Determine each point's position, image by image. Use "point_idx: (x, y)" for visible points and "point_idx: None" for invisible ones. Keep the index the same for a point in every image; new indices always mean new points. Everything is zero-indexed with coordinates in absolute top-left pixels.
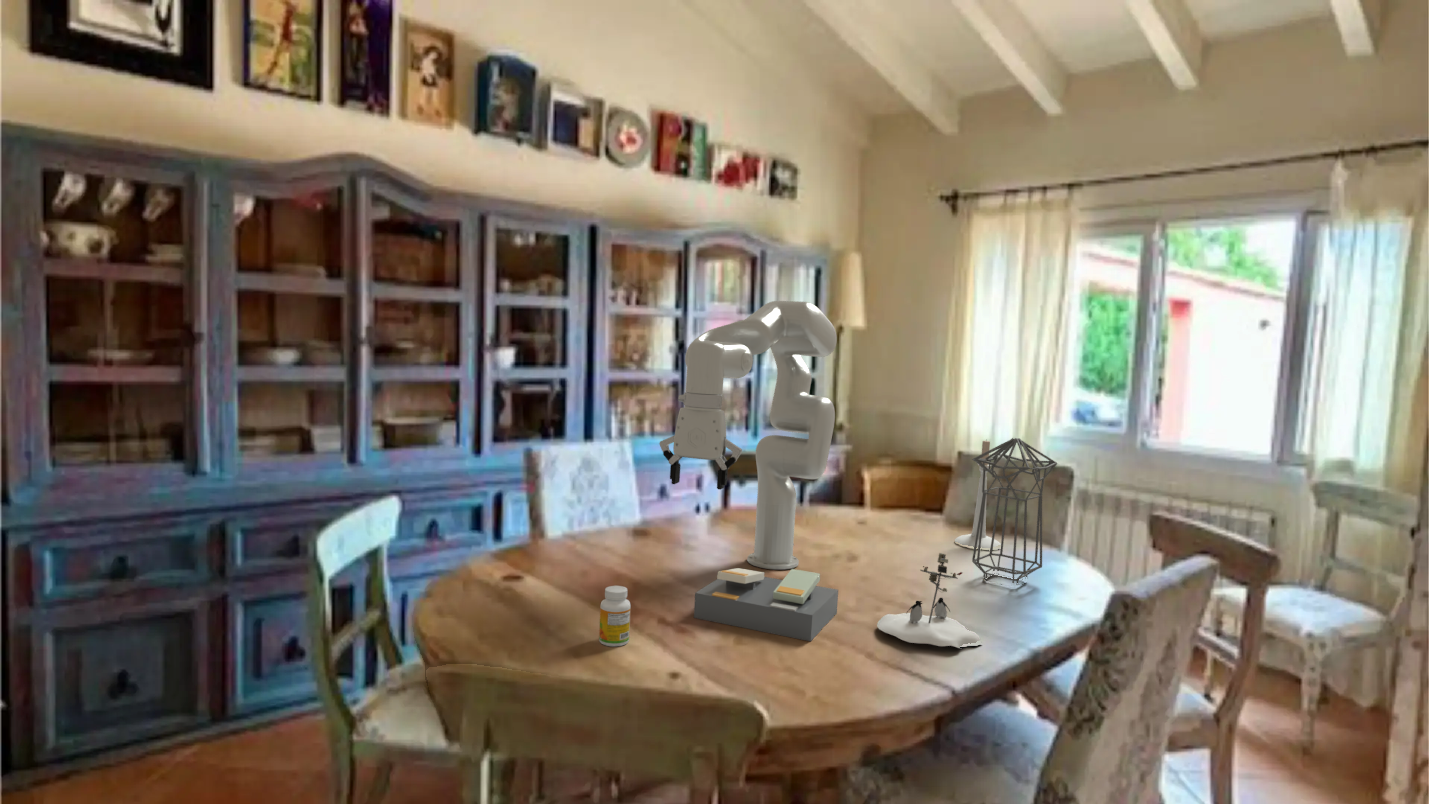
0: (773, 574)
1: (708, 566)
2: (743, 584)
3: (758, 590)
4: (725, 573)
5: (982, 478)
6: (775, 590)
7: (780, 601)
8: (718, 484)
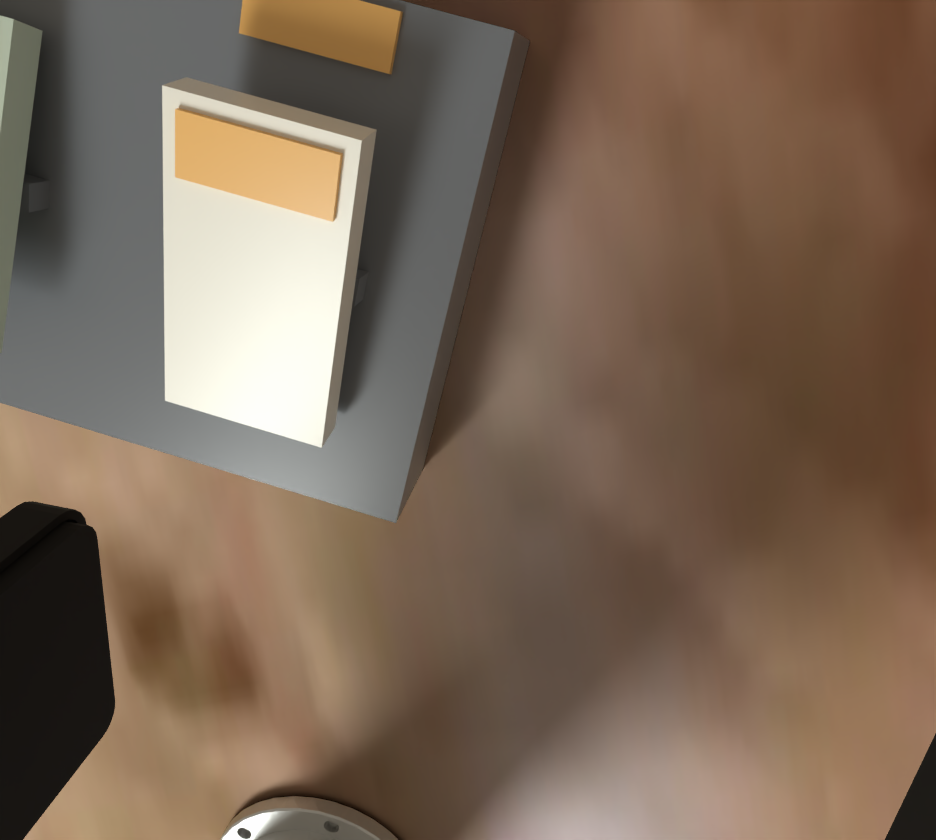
0: (290, 746)
1: (577, 801)
2: None
3: None
4: (307, 123)
5: None
6: (6, 44)
7: None
8: (3, 543)
